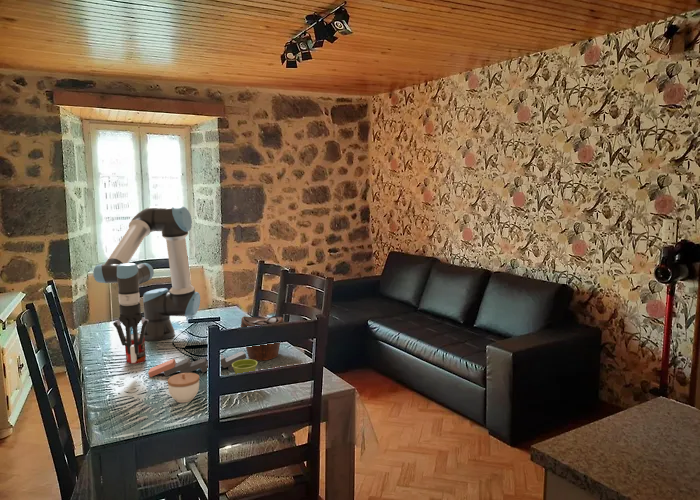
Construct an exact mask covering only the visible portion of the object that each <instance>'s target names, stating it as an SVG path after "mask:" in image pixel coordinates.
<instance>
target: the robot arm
mask: <svg viewBox="0 0 700 500" xmlns="http://www.w3.org/2000/svg"><path fill="white" fill-rule="evenodd" d="M192 224H193V221H192V216H191V212H190V211H189V209H188V208H187V207H185V206H181V205H160V206H159V205H153V206H152V205H151V206H148V207H146V208H144V209H142V210H141V211H139V212H138V213H137V214H136V215H135V216H133V218H132V219H131V221H130V222H129V224H128V229H127V230H126V232H125V234H124V235H123V237H121V240H120V241H119V242H118V244H117V246H116V247H115V249H114V250H113V251H112V253H111V254H110V255H109V257H108V259H107V260H106V261H105V263H101V264H100V263H99V264H97V265H95V267H94V268H93V272H92V274H93V278H94V280H95V281H96V282H97V283H102V284H103V283H104V284H117V289H118V290H117V292H118V295H117V296H118V302H119V303H118V304H119V306H118V307H119V317H118V319H117V320H115V321H113V323H112V325H113V326H114V327H115V329H116V332H117V335H118V337H119V340H120V343H121V345H122V346H123V347H124V346H127V349H128V354H131V363H135V362H136V361H137V357H136V354H138V352H139V347H138V345H140V344H142V342H143V339H145V341H148V342H150V341H151V342H154V341H155V342H157V341H163V340H168V339H171V338H173V337H174V336H175V335H176V334H175V328H174V326H173V324H172V322H171V317H186V318H187V317H193V316H195V315H196V314H197V313H198V311H199V308H200V304H201V295H200V292H198V291H196V289H195V286H194V285H192V284H191V276H190V275H191V274H190V265H189V257H188V249H187V242H186V241H187V240H186V237H187V236H188V235H189V232H190V230H192V227H193V225H192ZM152 232H161V236H162V238H164V239H165V240H166V247H167V248H166V249H167V255H168V256H167V257H168V265H169V273H170V280H171V286H172V287H170V289H168V288H167V287H164V288H163V287H162V288H156V289H151V290H149V291H146V292H144V293H143V295H142V296H143V297H142V299H143V301H142V304H143V315H142V312H141V311H142V310H141V309H142V308H141V303H140V301H141V299H140V298H141V297H140V296H141V295H140V285H141V284H143V283H146V282H147V283H148V282H149V281H150V280H151V279H153V277H154V274H155V273H154V272H155V271H154V268H153V266H152V265H151V264H149V263H148V262H147V263H146V262H143V263H138V264H137V263H134V262H130V261H131V259H132V258H133V256H134V255H135V253H136V251H137V250H138V248H139V247H140V246H141V244H142V242H143V240H144V239H145V237H148V236H149V235H150V233H152ZM143 316H144V317H143ZM140 322H141V328H140V329H141V330H140V333H139V334H140V339H139V341H138V330H139V329H138V325H139V323H140ZM121 324H122V325H123V327H124V328H125V329H124V330H125V333H124V330H123V327H122V325H121ZM131 328H132V331H131ZM131 332H132V333H131ZM131 334H133V339H134V345H131V344H132V343H131ZM125 336H126V339H125ZM126 340H127V342H126Z"/></svg>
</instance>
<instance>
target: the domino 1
mask: <svg viewBox="0 0 700 500" xmlns="http://www.w3.org/2000/svg"><path fill="white" fill-rule="evenodd" d="M176 363H177V362H176V360H175V358H172V359H169V360H167V361H165V362H162V363H160V364H158V365H155V366H153V367H150V368H149V370H148V372H147V374H148V377H149V378H153V377H155V376H156V375H159V374H163V373H164V371H167V370H169V369H172V368H174V367H175V365H176Z"/></svg>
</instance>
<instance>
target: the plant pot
mask: <svg viewBox="0 0 700 500" xmlns="http://www.w3.org/2000/svg"><path fill="white" fill-rule="evenodd" d="M257 366H258V360H253V359H250V358H245V359H243V360H239V361H236V362H234V363H233V364H232V367H233V368H234V370H233V371H234V374H237V373H243V372H249V371H255V372H256V369H257Z"/></svg>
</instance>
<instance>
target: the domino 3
mask: <svg viewBox="0 0 700 500" xmlns="http://www.w3.org/2000/svg"><path fill="white" fill-rule="evenodd" d="M206 364H207V358H206V357H203V358H200V359H197V360H195V361H191V364H190V367H187V368H185V369H182V370H180V371H179V374H180V373H192V372H193V371H194V372H195V371H196V370H201V369H200V368H203V367H205V366H206Z"/></svg>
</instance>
